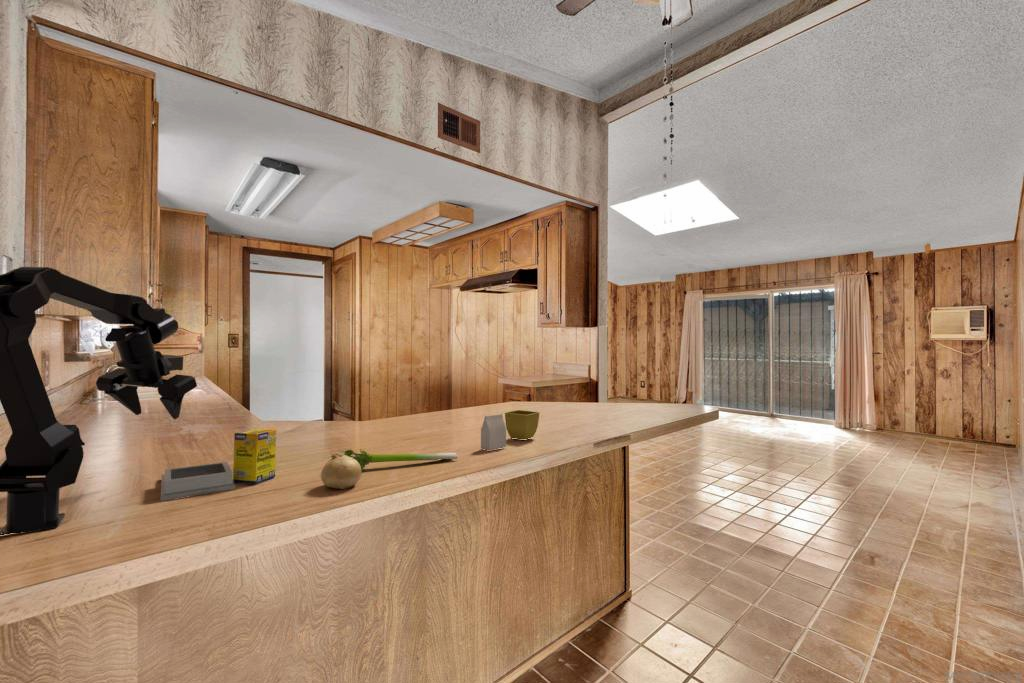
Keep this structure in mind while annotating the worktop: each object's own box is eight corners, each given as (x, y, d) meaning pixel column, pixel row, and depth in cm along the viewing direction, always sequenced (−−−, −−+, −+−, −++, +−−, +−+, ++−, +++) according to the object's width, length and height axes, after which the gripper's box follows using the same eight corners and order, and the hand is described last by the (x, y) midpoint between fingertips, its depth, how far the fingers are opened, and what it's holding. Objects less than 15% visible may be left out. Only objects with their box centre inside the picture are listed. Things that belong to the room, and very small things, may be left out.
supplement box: (255, 485, 93) (257, 433, 93) (232, 483, 94) (233, 432, 94) (276, 477, 99) (277, 429, 99) (253, 475, 100) (254, 428, 100)
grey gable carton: (506, 448, 131) (506, 414, 131) (489, 451, 126) (489, 417, 126) (497, 446, 133) (497, 413, 133) (480, 449, 128) (481, 415, 129)
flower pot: (540, 438, 145) (540, 411, 146) (527, 443, 138) (527, 414, 138) (517, 436, 150) (517, 409, 150) (503, 440, 143) (503, 412, 143)
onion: (360, 479, 98) (361, 448, 98) (362, 490, 90) (362, 455, 90) (321, 483, 95) (322, 450, 95) (319, 494, 87) (320, 459, 88)
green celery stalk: (458, 471, 113) (335, 475, 99) (449, 468, 119) (332, 472, 105) (459, 446, 114) (337, 448, 101) (450, 445, 120) (334, 446, 107)
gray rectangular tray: (235, 489, 90) (235, 472, 90) (160, 501, 83) (161, 482, 83) (226, 470, 104) (226, 455, 104) (161, 479, 97) (162, 463, 97)
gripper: (207, 342, 99) (222, 402, 105) (132, 335, 101) (150, 394, 107) (166, 363, 89) (185, 428, 95) (83, 355, 90) (106, 419, 97)
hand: (157, 416), depth 99 cm, fingers open, 9 cm apart
